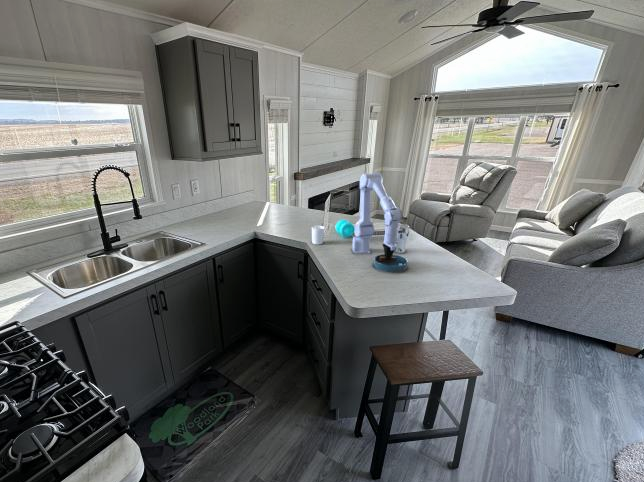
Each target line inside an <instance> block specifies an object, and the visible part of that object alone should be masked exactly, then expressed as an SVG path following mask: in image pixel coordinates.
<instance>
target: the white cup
mask: <svg viewBox="0 0 644 482" xmlns="http://www.w3.org/2000/svg"><path fill="white" fill-rule="evenodd" d="M325 229H326V227H325V226H323V225H313V226H311V242H312V244H313V245H323V244H324V239H325V238H324V237H325Z"/></svg>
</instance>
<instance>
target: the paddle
mask: <svg viewBox="0 0 644 482" xmlns="http://www.w3.org/2000/svg"><path fill="white" fill-rule="evenodd" d="M379 261H380V262H396V257H391V259H390V260H386V257H380V259H379Z"/></svg>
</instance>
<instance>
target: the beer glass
mask: <svg viewBox="0 0 644 482" xmlns="http://www.w3.org/2000/svg"><path fill="white" fill-rule="evenodd" d="M409 234H410V225H409V224H405V223H403V224H402V223H398V230H397V238H396V241H398V244H396V250H395V251H394V253H399V254H401V253H402V254H403V253H406V246H407V245H406V244H407V241H408V239H409Z"/></svg>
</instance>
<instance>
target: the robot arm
mask: <svg viewBox="0 0 644 482" xmlns="http://www.w3.org/2000/svg"><path fill="white" fill-rule="evenodd" d="M383 180H384V178H383V176H382V174H381V173H380V172H377V173H363V174H362V175H361V176H360V178H359V190H360V200H359V201H360V202H359V203H360V205H359V206H360V207H359V208H360V209H359V214H360V215H359V220H358V221H357V222H356V223H355V225H354V228H355V230H354V235H355V236H353V237H352V247H351V250H352V252H353V254H372V253H371V250H370V246H371V238H372V237H373V235H374V234H375V227H374V221H372V220H371V192H372V191H373V190H374V191H375V193H376V194H377V196H378V198H379V199H380V201H379V205H380V207H381V208H382V211H383V212H384V214H383V218H384V224H385V230H384V238H383V242H382V247H383V252H384V253H383V254H385V257H386V260H390V259H391V257H392V255H394V253H395V250H396V244H398V241H396V238H397V230H398V225H399V224H400V223H399V221H401V220H402V219H403V212H402V209H401V208H399V207H398V206H396V204H395V202H394V201H393V199H392V197H391V196H388V194H387V192H386V189H385V187H384V185H383V182H384V181H383Z"/></svg>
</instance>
